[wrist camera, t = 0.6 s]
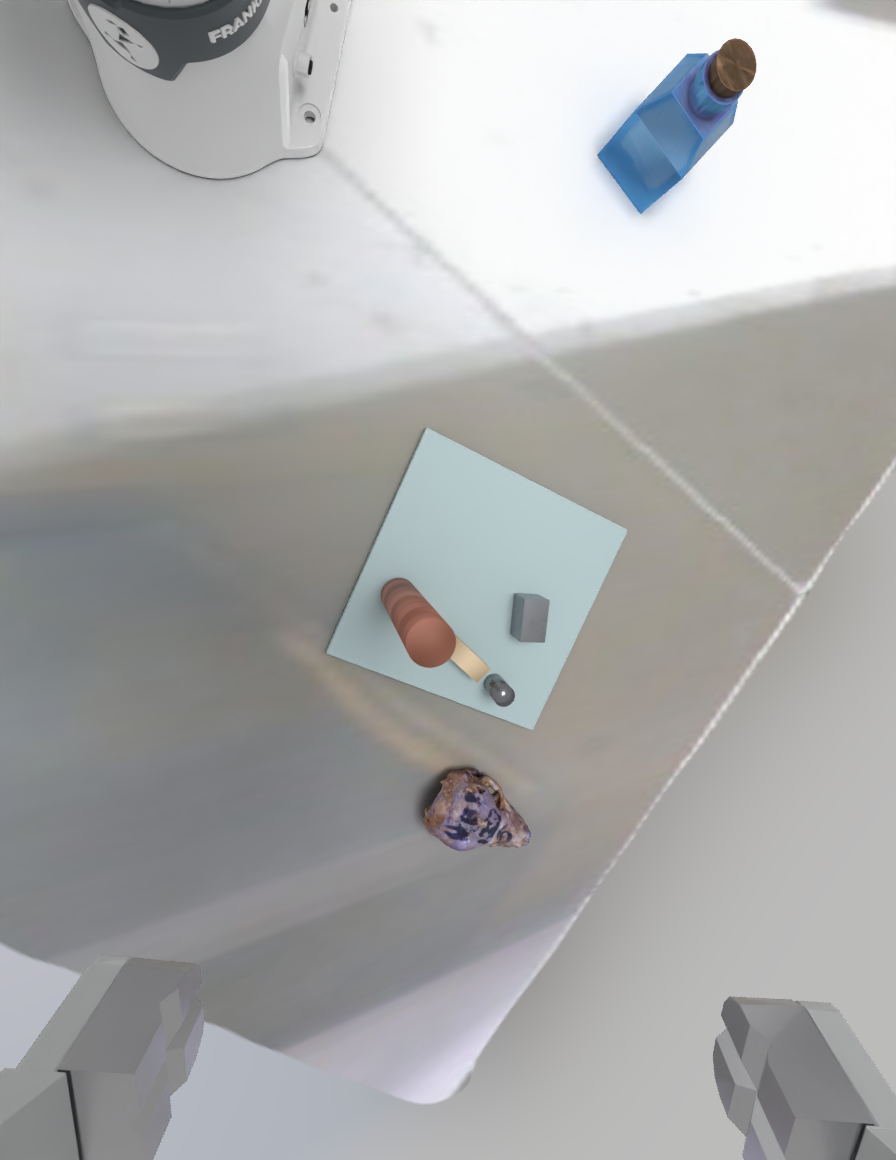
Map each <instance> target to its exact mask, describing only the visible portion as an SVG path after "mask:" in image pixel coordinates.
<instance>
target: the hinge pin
mask: <svg viewBox="0 0 896 1160" xmlns="http://www.w3.org/2000/svg"><path fill="white" fill-rule="evenodd" d="M483 685H484V689H485V690H486V691H487V693H488V694H489V695H490V696H491V698H492V699H493V700H494V701H495V703H496V704H497V705H498V706H501V707H506V706H509V705H510V704H511V703H512V702H513V701H514V699H515V692H514V690H513V689H512V688H511V687H510V686H509V685H508V684H507V682H506V681H505V680H504V679H503V678H502V677H501V676H500V675H498V674H490V675H488V676H487V677H486V678H485V680H484V684H483Z"/></svg>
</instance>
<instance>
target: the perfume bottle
mask: <svg viewBox="0 0 896 1160" xmlns="http://www.w3.org/2000/svg"><path fill="white" fill-rule="evenodd" d="M755 73H756V59H755V55H754V53H753V50H752V48H751V47H750V46H749V45H748V44H747V43H746V42H745V41H743V40H741V39H731V40H728V41H727V42H726V43H724V44H723V46H722V47H721V49H720V50H718V51H716V52H714V53H713V54H712V55H710V56H709V55H708V54H707V53H706V54H687V55H686V56H685V57H684V58H683V59H682V60H681V62H680V63H679V64H678V65H677V66H676V67H675V68H674V69H673V70H672V71H671V72H670V73H669V74H668V76H667V77H666V78H665V79H664V80H663V81H662V82H661V83H660V84H659V85H658V86H657V87H656V89H655V90H654V91H653V92H652V93H651V94H650V95H649V96H648V97H647V98H646V99H645V100H644V101H643V103H642V104H641V105H640V106H639V107H638V108H637V109H636V110H635V111H634V112H633V114H632V115H631V116H630V117H629V118H628V120H627V121H626V122H625V123H624V124H623V126H622V127H621V128H620V129H619V130H618V131H617V133H616V134H615V135H614V136H613V137H612V139H611V140H610V141H609V142H608V143H607V145H606V146H605V147H604V148H603V149H602V151H601V152H600V153H599V154H598V155H597V156H598V157H599V159H600V160H601V161H602V163H603V164H604V165H605V167H606V168H607V169H608V171H609V172H610V173H611V175H612V176H613V177H614V179H615V180H616V181H617V183H618V184H619V185H620V187H621V188H622V190H623V191H624V192H625V194H626V195H627V196H628V198H629V199H630V200H631V202H632V203H633V204H634V206H635V207H636V208H637V210H638V211H639V212H640V214H641V213H642V212H643V211H644V210H646V209H647V208H648V207H649V206H650V205H651V204H653V203H654V202H655V201H656V200H657V199H659V198H660V197H661V196H662V195H663V194H664V193H666V192H667V191H668V190H669V189H670V188H672V187H673V186H674V185H675V184H676V183H677V182H679V181H680V180H681V179H682V178H683V177H684V176H685V175H686V174H687V173H688V172H689V171H690V169H691V168H692V167H693V166H694V165H695V164H696V163H697V162H698V161H699V160H700V159H701V157H702V156H703V155H704V154H705V153H706V152H707V151H708V150H709V149H710V148H711V147H712V146H713V144H714V143H715V142H716V141H717V140H718V139H719V138H720V137H721V136H722V135H723V134H724V132H725V131H726V130H727V129H728V128H729V127H730V126H731V125H732V124H733V121H734V117H735V112H736V108H737V103H738V100H737V99H738V98H739V97H740V95H741V94H742V92H743V90H744V89H745V88H747V87H748V86H749V85H750V84H751V82H752V81H753V79H754V76H755Z"/></svg>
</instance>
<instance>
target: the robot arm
mask: <svg viewBox="0 0 896 1160" xmlns="http://www.w3.org/2000/svg"><path fill="white" fill-rule="evenodd" d="M351 2H352V0H68V3H69V5H70V8H71V10H72V12H73V14H74V16H75V18H76V20H77V21H78V23H79V25H80V26H81V28H82V29H83V31H84V33H85V34H86V36H87V37H88V39H89V40H90V43H91V46H92V49H93V52H94V56H95V59H96V63H97V67H98V71H99V75H100V79H101V82H102V85H103V88H104V91H105V93H106V96H107V98H108V100H109V102H110V104H111V106H112V108H113V110H114V112H115V113H116V115H117V117H118V118H119V120H120V121H121V123H122V124H123V125H124V127H125V128H126V129H127V130H128V132H129V133H130V134H131V135H132V136H133V137H134V138H135V139H136V140H137V141H138V142H139V143H140V144H141V145H142V146H143V147H144V148H145V149H146V150H148V151H149V152H150V153H151V154H153V155H154V156H155V157H157V158H158V159H160V160H161V161H163V162H165V163H166V164H168V165H170V166H172V167H174V168H176V169H178V170H181V171H183V172H186V173H189V174H192V175H196V176H200V177H206V178H216V179H225V178H234V177H240V176H243V175H247V174H250V173H253V172H255V171H257V170H259V169H261V168H263V167H265V166H266V165H268V164H270V163H272V162H274V161H276V160H279V159H282V158H303V157H310V156H313V155H315V154H317V153H318V152H319V151H320V150H321V148H322V145H323V142H324V137H325V132H326V127H327V122H328V117H329V112H330V107H331V102H332V97H333V92H334V87H335V82H336V77H337V72H338V67H339V62H340V57H341V52H342V47H343V42H344V37H345V32H346V27H347V22H348V17H349V12H350V7H351ZM306 117H312V118H314V120H315V121H314V122H313V123H308V122H306V120H305V118H306ZM201 982H202V976H201V968H200V964H195V963H185V962H175V961H164V960H154V959H144V958H131V957H119V956H106V955H100V956H99V957H98V958H97V959H96V960H94V961H93V962H92V963H91V964H90V965H89V966H88V967H87V969H86V970H85V971H84V973H83V974H82V976H81V977H80V978H79V980H78V981H77V983H76V984H75V986H74V987H73V989H72V990H71V991H70V993H69V994H68V995H67V997H66V998H65V1000H64V1001H63V1002H62V1004H61V1005H60V1007H59V1008H58V1009H57V1011H56V1012H55V1014H54V1015H53V1017H52V1018H51V1019H50V1021H49V1022H48V1024H47V1025H46V1026H45V1028H44V1029H43V1031H42V1032H41V1034H40V1035H39V1036H38V1038H37V1039H36V1041H35V1042H34V1043H33V1045H32V1046H31V1048H30V1049H29V1051H28V1052H27V1053H26V1055H25V1056H24V1058H23V1059H22V1060H21V1062H20V1063H19V1065H18V1066H17V1067H16V1069H12V1068H5V1069H4V1070H2V1071H1V1072H0V1160H153V1158H154V1156H155V1154H156V1151H157V1149H158V1147H159V1144H160V1142H161V1140H162V1137H163V1135H164V1133H165V1131H166V1128H167V1126H168V1124H169V1121H170V1119H171V1105H170V1096H171V1095H172V1094H173V1093H174V1092H175V1091H176V1090H177V1089H178V1088H179V1087H181V1086H182V1085H183V1084H184V1083H185V1082H186V1081H187V1079H188V1076H189V1074H190V1072H191V1069H192V1067H193V1064H194V1062H195V1059H196V1056H197V1053H198V1048H199V1045H200V1042H201V1038H202V1034H203V1025H204V1004H203V1003H202V1002H201V1000H200V999H199V998H198V997H197V996H196V993H197V991H198V989H199V987H200V985H201ZM721 1016H722V1018H723V1021H724V1023H725V1025H726V1027H727V1029H726V1030H724V1031H723V1032H722V1033H721V1034H720V1035H719V1036H717V1037H716V1040H715V1046H714V1052H713V1062H714V1073H715V1079H716V1083H717V1087H718V1091H719V1095H720V1098H721V1101H722V1103H723V1106H724V1109H725V1111H726V1114H727V1117H728V1118H729V1119H730V1120H731V1121H732V1122H733V1123H734V1124H735V1125H736V1127H737V1128H738V1129H739V1130H740V1131H741V1132H742V1133H743V1134H744V1135H745V1136H746V1139H745V1144H744V1150H743V1158H744V1160H896V1096H895V1094H894V1092H893V1091H892V1090H891V1088H890V1086H889V1085H888V1083H887V1082H886V1080H885V1079H884V1078H883V1076H882V1074H881V1073H880V1071H879V1070H878V1068H877V1067H876V1065H875V1064H874V1062H873V1061H872V1059H871V1058H870V1056H869V1055H868V1053H867V1052H866V1050H865V1049H864V1047H863V1046H862V1044H861V1043H860V1041H859V1040H858V1038H857V1037H856V1035H855V1034H854V1032H853V1031H852V1029H851V1028H850V1026H849V1025H848V1023H847V1021H846V1020H845V1018H844V1017H843V1015H842V1014H841V1013H840V1011H839V1010H838V1009H837V1008H836V1007H834V1006H833V1005H832V1004H831V1003H823V1002H822V1003H821V1002H808V1001H793V1000H788V999H787V1000H786V999H767V998H746V997H729V998H728V999H727V1000H726V1001H725V1002H724V1005H723V1009H722V1013H721Z"/></svg>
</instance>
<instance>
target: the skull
mask: <svg viewBox="0 0 896 1160" xmlns="http://www.w3.org/2000/svg"><path fill="white" fill-rule="evenodd" d="M440 783H441V784H442V789H441V791H440V792H439V793H438V795H437V797H436V799H435V800H434V802H433V804H432V805H431V806H429V807H427V808H426V809H425V817H424V818H423V821H424V825H425V828H426V829H427V830H428V831H429V833H430V834H431V835H433V836H436V837H438V838H439V839H440V840H441V841H442V842H443V843H444V844H445V845H447V846H449V847H450V848H453V849H455V850H458V851H467V850H471V849H474V848H477V847H479V846H482V845H490V847H492V846H496V845H497V846H502V847H504V846H505V847H512V846H515V847H517V848H521V847H522V846H525V845H527V844H528V843H529V838H530V837H531V832H530V831H529V829H528V826H527V825H526V824H525V822H524V821H523V818H522V817H521V816H518V814H517V813H516V811H515V809H514V808H513V807H512V806H511V805H510V804H509V803H508V801H507V800H505V798H504V795H503V792H502V789H501V787H500V786H499V785H498V784H497V783H496V782H495V781H493V780H492V779H491V778H490V777H488V776H485V775H480V773H479V771H478V770H475V769H472V770H470V769H466V770H463V771H461V770H457V771H451V772H450V773H449V774H448V775H447V778H446V779H445V780H442V781H440ZM485 785H486V786H491V787H492V789H493V790H497V792H498V793H496V794H495V795H491V793H490V792H489V790H488V789H487V787H486V786H485Z"/></svg>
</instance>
